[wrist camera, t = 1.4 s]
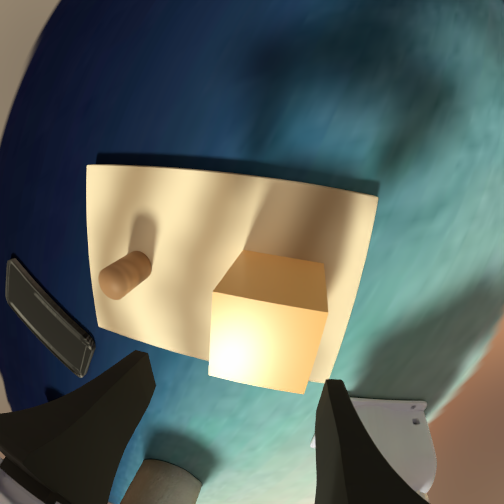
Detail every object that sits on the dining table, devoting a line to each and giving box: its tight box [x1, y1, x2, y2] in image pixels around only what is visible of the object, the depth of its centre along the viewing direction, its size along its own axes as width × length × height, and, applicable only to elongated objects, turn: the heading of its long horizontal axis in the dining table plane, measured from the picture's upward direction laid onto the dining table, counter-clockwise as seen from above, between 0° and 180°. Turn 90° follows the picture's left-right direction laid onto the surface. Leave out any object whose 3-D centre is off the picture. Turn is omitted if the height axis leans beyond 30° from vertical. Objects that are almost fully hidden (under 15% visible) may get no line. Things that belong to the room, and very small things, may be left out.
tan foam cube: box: [209, 250, 328, 394], centre depth 16 cm, size 5×5×6 cm
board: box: [86, 164, 378, 383], centre depth 18 cm, size 20×14×4 cm
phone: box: [6, 258, 95, 377], centre depth 26 cm, size 8×1×15 cm
